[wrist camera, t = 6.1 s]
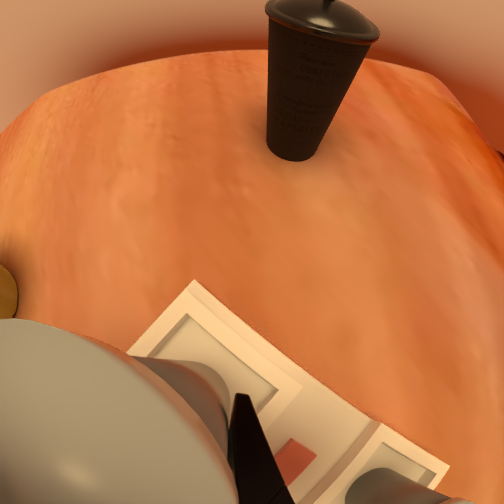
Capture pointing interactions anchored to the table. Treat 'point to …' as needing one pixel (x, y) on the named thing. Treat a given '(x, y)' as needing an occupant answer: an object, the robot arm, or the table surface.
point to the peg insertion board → (296, 412)
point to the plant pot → (7, 294)
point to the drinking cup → (310, 69)
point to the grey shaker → (107, 423)
